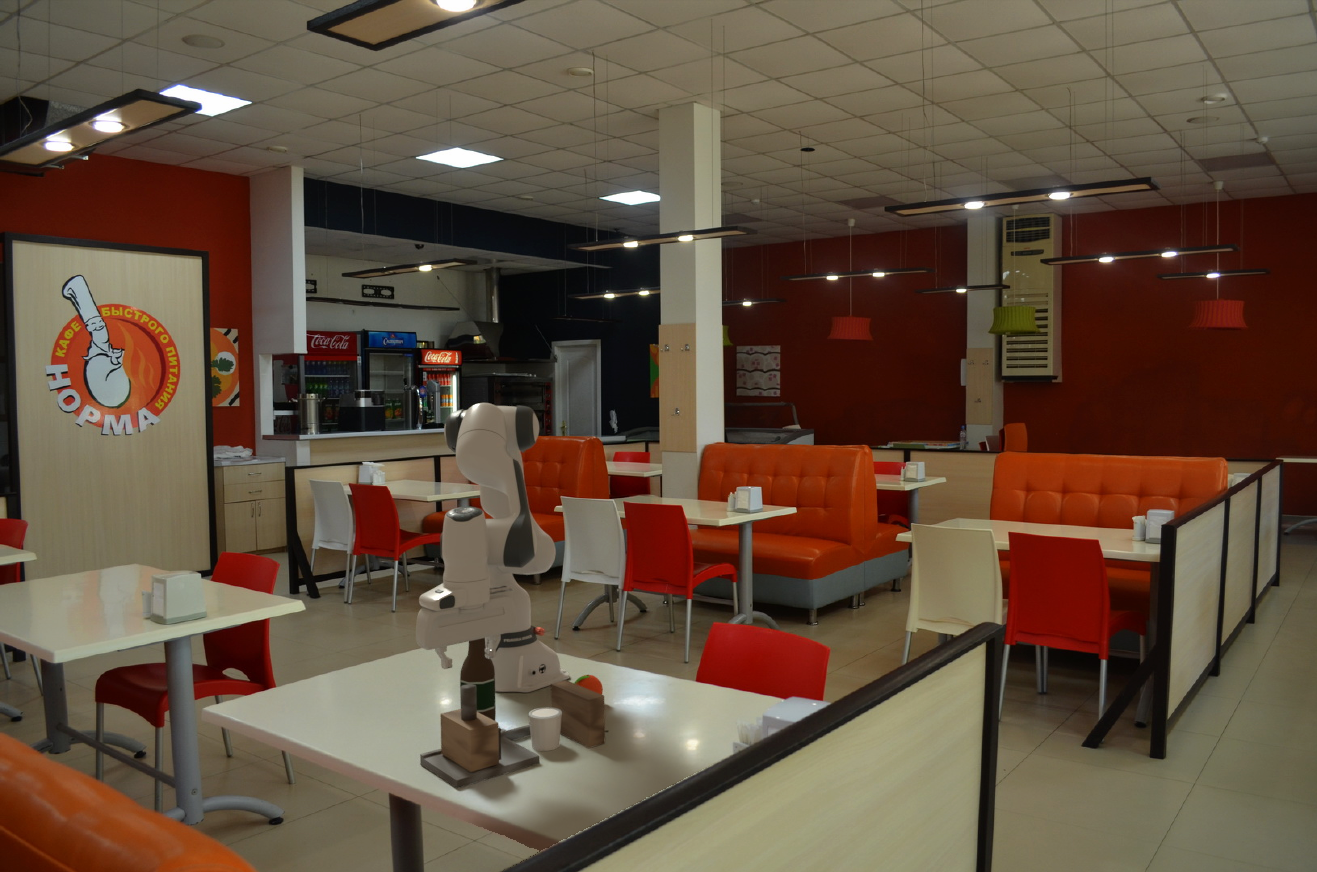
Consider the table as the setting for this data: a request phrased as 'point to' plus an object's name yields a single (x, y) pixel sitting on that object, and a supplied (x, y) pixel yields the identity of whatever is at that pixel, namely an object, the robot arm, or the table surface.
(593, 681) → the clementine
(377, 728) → the table surface
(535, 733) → the white cup
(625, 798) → the table surface
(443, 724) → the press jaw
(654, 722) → the table surface
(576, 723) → the frame
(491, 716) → the beer bottle
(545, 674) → the robot arm
